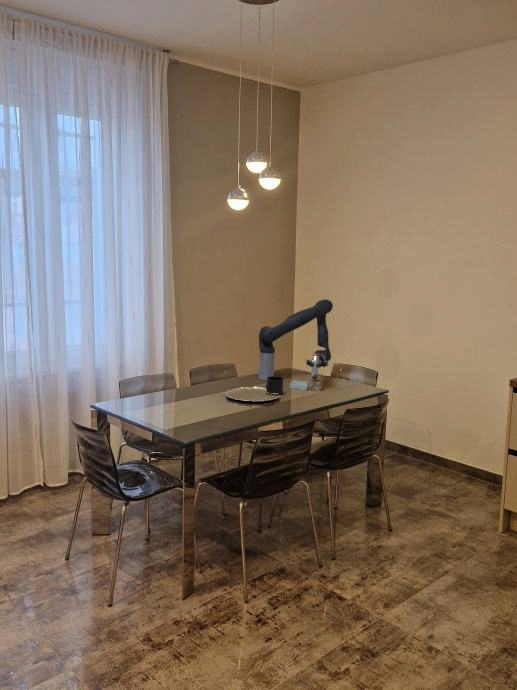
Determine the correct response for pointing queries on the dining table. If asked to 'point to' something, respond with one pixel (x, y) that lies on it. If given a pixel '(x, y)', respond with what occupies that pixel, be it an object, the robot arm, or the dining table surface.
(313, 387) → the block
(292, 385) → the tray
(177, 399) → the dining table surface
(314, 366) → the cylinder
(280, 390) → the mug
